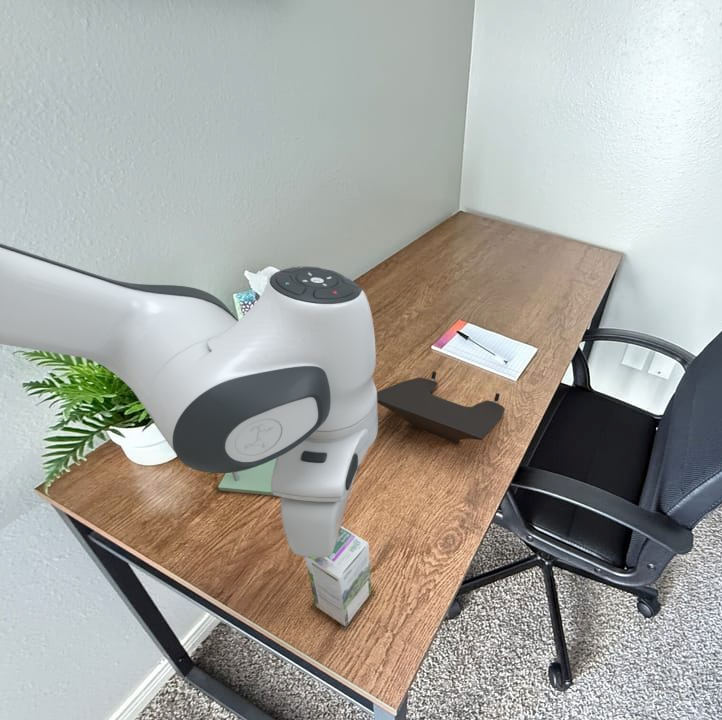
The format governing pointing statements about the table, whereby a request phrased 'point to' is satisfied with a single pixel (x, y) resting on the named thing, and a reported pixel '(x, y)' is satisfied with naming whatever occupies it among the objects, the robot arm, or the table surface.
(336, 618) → the syrup box
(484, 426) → the laptop tray
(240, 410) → the robot arm
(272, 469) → the drying rack
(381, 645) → the table surface
